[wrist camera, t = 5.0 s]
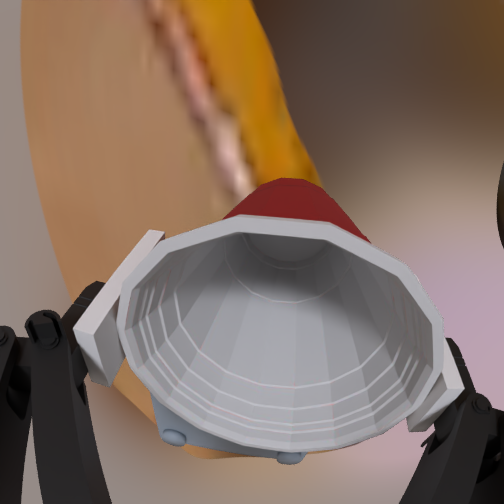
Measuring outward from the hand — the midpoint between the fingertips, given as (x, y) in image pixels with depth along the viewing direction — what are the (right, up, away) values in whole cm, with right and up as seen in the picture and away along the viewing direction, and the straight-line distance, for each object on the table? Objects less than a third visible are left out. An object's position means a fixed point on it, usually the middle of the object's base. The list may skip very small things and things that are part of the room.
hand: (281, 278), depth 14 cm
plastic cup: (+1, +3, +5) cm, 6 cm away
